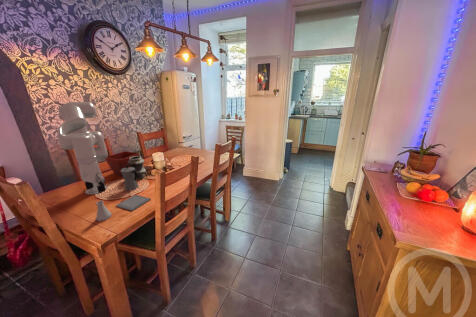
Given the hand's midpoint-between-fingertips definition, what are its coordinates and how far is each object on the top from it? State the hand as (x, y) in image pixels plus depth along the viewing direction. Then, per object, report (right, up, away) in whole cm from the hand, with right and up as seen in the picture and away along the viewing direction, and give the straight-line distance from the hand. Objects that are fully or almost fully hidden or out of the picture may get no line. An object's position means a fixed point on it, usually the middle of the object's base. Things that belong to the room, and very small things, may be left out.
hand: (96, 190), depth 96 cm
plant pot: (-25, +4, +66) cm, 70 cm away
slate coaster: (+9, -12, +20) cm, 25 cm away
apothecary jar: (-8, +1, +57) cm, 57 cm away
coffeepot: (-3, -6, +38) cm, 39 cm away
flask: (0, -17, +6) cm, 18 cm away
